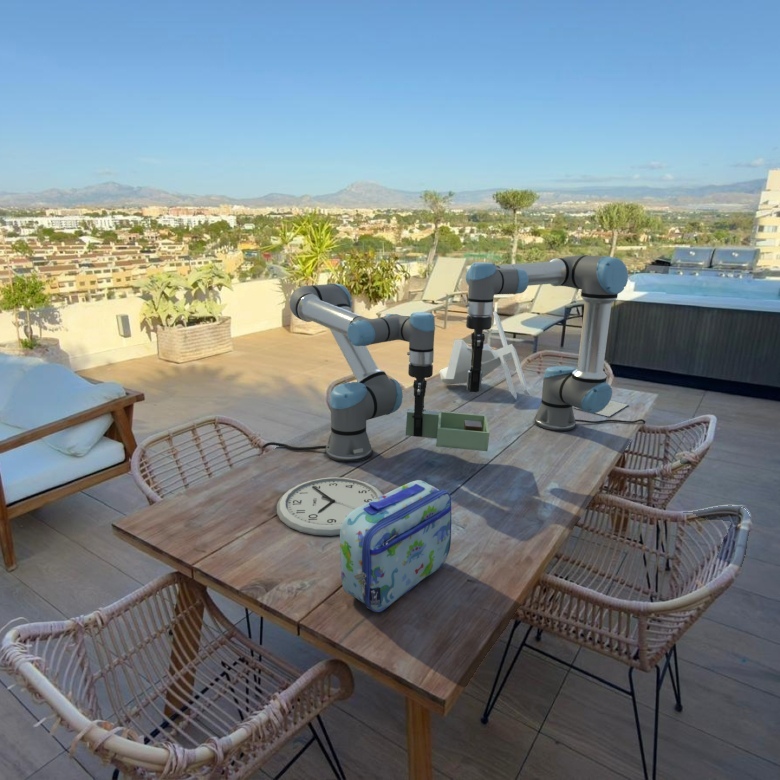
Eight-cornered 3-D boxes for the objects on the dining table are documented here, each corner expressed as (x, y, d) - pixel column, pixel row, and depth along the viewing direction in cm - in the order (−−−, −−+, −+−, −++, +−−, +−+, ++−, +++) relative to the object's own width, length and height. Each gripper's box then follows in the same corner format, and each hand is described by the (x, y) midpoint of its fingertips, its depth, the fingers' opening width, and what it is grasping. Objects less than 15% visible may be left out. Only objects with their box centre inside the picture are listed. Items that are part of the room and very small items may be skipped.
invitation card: (608, 416, 214) (573, 407, 224) (608, 416, 214) (573, 408, 224) (628, 404, 229) (594, 396, 238) (628, 405, 229) (594, 397, 238)
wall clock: (392, 527, 129) (268, 531, 127) (391, 533, 130) (269, 537, 127) (383, 473, 158) (282, 475, 155) (383, 478, 158) (282, 480, 156)
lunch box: (369, 626, 100) (370, 530, 93) (334, 598, 107) (332, 507, 101) (455, 567, 117) (460, 483, 111) (419, 547, 124) (423, 467, 118)
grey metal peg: (480, 388, 166) (481, 370, 165) (481, 392, 162) (482, 373, 160) (466, 387, 167) (467, 369, 165) (466, 391, 163) (468, 372, 161)
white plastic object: (461, 429, 252) (437, 405, 227) (444, 352, 274) (420, 323, 250) (535, 404, 240) (518, 377, 215) (510, 326, 262) (492, 293, 237)
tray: (484, 432, 173) (487, 409, 171) (487, 451, 159) (490, 426, 156) (408, 425, 176) (409, 402, 174) (403, 443, 161) (405, 419, 159)
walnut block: (478, 439, 166) (480, 421, 164) (480, 445, 161) (482, 427, 159) (462, 437, 166) (464, 420, 164) (463, 444, 161) (465, 425, 159)
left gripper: (410, 356, 169) (408, 424, 176) (406, 369, 154) (404, 443, 161) (434, 357, 168) (431, 425, 175) (431, 370, 153) (428, 444, 160)
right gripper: (466, 310, 166) (461, 380, 173) (467, 319, 150) (462, 396, 157) (490, 311, 165) (484, 382, 172) (494, 320, 149) (487, 398, 156)
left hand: (418, 433), depth 168 cm, fingers closed on tray, 3 cm apart
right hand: (474, 389), depth 164 cm, fingers closed on grey metal peg, 4 cm apart
